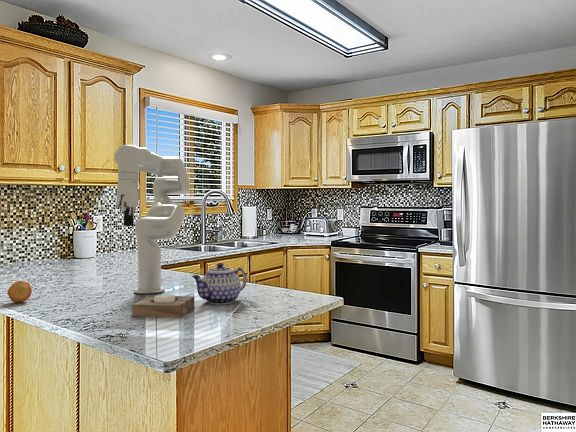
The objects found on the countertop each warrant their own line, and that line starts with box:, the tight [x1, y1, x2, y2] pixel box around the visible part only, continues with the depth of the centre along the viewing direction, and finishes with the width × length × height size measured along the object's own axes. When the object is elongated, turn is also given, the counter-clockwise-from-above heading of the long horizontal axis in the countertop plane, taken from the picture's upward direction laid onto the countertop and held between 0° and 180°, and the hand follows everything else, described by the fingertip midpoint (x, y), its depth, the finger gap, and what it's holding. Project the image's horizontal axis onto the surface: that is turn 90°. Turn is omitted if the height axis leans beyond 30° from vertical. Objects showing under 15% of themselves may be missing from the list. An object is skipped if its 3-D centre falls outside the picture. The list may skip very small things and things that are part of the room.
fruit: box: [7, 280, 33, 303], centre depth 176 cm, size 8×8×8 cm
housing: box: [131, 295, 195, 319], centre depth 158 cm, size 16×16×4 cm
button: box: [153, 294, 176, 303], centre depth 158 cm, size 7×7×4 cm
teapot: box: [191, 262, 248, 305], centre depth 175 cm, size 25×15×15 cm, turn 132°
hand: (128, 225), depth 175 cm, fingers closed
